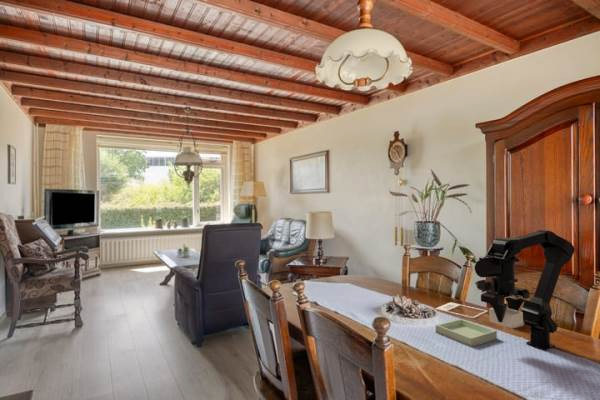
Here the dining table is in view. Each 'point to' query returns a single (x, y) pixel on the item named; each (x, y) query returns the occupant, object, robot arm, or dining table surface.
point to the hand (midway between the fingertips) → (505, 320)
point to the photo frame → (451, 306)
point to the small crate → (507, 318)
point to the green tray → (466, 332)
